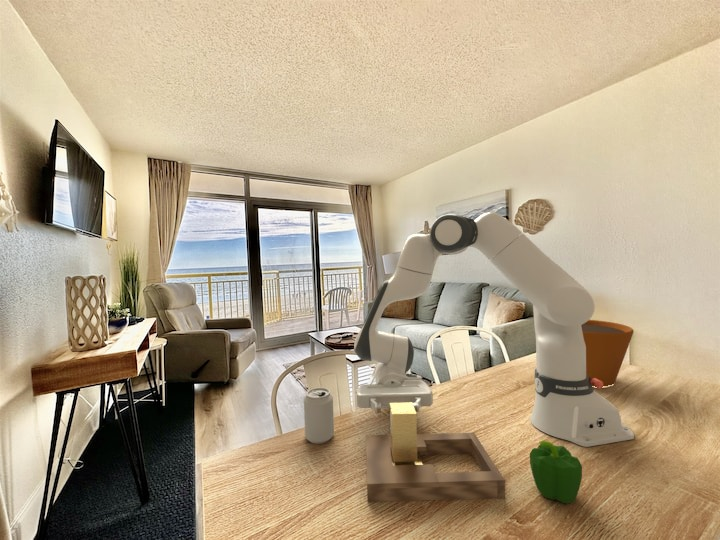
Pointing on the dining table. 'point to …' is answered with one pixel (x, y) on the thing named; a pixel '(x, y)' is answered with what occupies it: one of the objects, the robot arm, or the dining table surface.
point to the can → (318, 415)
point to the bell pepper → (556, 472)
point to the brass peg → (404, 434)
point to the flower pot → (605, 349)
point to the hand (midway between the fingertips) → (397, 409)
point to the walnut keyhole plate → (430, 471)
